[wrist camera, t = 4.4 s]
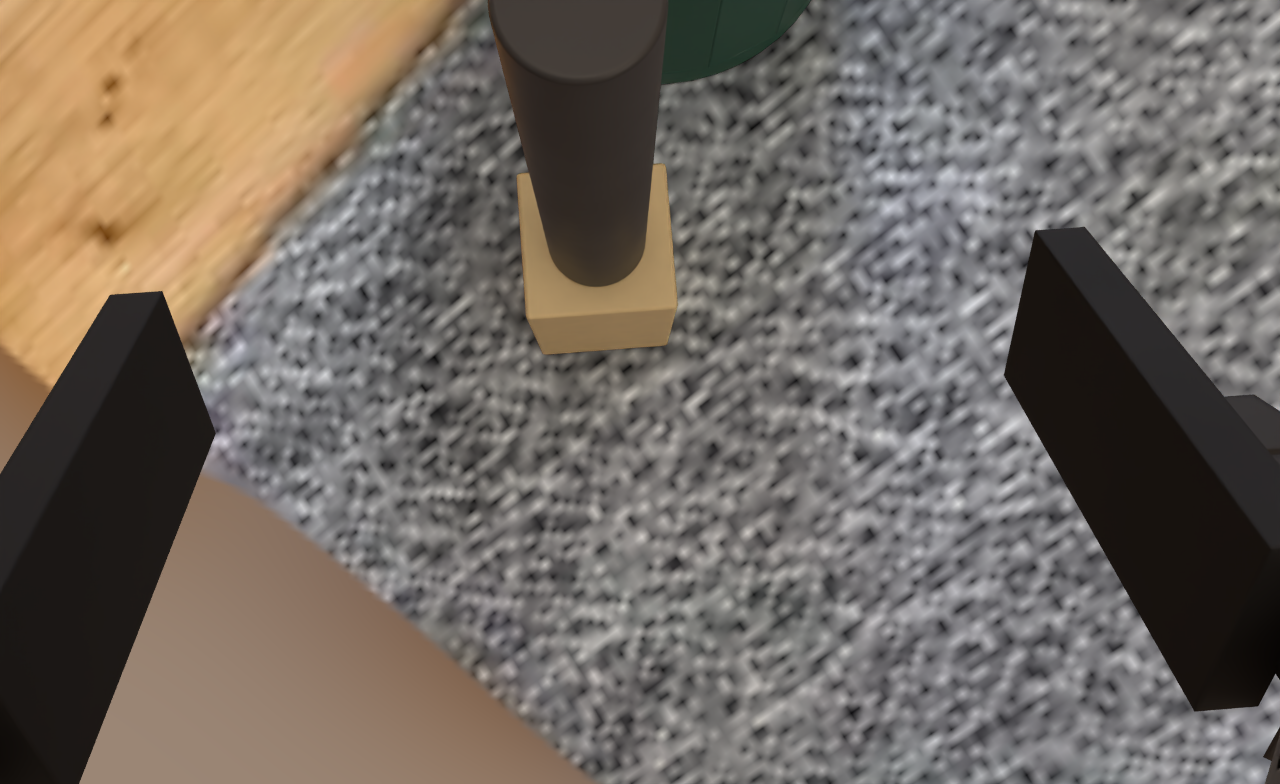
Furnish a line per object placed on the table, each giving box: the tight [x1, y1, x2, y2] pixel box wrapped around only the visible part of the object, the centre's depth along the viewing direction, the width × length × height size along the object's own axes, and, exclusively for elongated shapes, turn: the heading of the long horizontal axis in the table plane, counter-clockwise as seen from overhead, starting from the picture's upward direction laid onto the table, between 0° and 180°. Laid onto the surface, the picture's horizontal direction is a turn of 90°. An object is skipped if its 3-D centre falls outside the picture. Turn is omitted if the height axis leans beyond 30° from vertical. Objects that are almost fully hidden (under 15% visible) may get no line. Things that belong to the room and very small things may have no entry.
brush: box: [488, 0, 678, 355], centre depth 21 cm, size 3×3×16 cm
